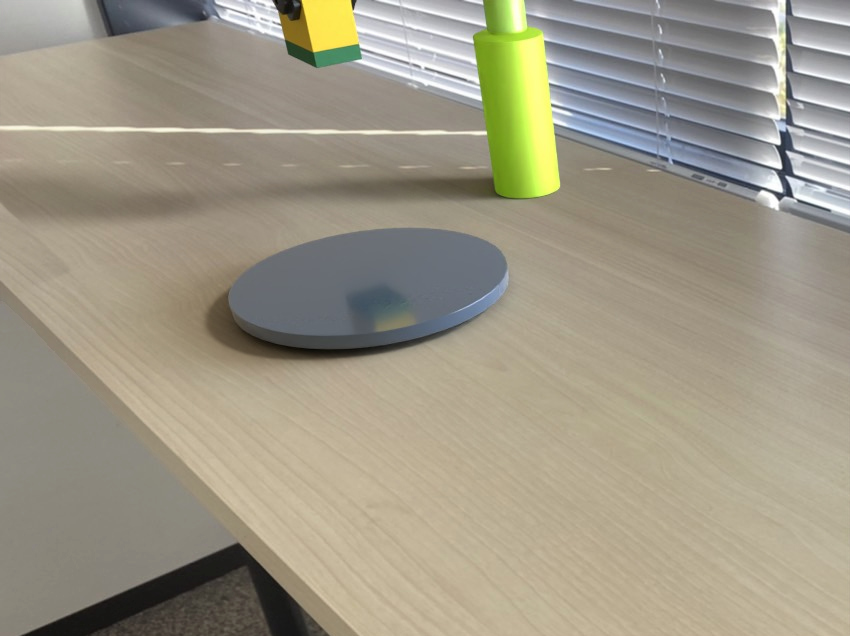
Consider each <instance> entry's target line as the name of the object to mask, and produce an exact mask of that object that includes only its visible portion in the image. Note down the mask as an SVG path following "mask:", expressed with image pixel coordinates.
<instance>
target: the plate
mask: <svg viewBox="0 0 850 636" xmlns="http://www.w3.org/2000/svg"><path fill="white" fill-rule="evenodd" d="M509 283H510V271H509V263H508V261H507V257H506V256H505V254H504V253H503V251H502V250H500V249H499V247H497V246H496V245H494V244H493V243H491V242H489V241H488V240H487V239H486V240H485V239H483V238H481V237H478V236H476V235H472V234H468V233H465V232H460V231H455V230H449V229H441V228H430V227H429V228H428V227H388V228H375V229H367V230H359V231H358V230H357V231H352V232H351V231H350V232H345V233H340V234H336V235H331V236H326V237H323V238H318V239H313V240H311V241H307V242H304V243H301V244H297V245H294V246H292V247H289V248H286V249H283V250H280V251H279V252H276V253H274V254H272V255H270V256H268V257H265V258H264V259H262V260H260V261H258V262H256V263H255V264H254V265H252V266H250V267H249V268H248V269H246V270H245V271H244V272H242V273H241V274H240V276H238V277H237V278H236V280H235V281H234V282H233V283H232V285H231V287H230V289H229V290H228V296H227V300H228V306H229V309H230V311H231V315H232V318H233V320H234V322H235V323H236V325H237V326H238V327H240V329H241V330H243V331H244V332H246V334H249V335H250V336H252V337H255V338H257V339H260V340H262V341H265V342H269V343H272V344H276V345H280V346H287V347H291V348H299V349H300V348H302V349H312V350H313V349H314V350H349V349H362V348H369V347H370V348H371V347H378V346H387V345H390V344H391V345H392V344H398V343H401V342H406V341H412V340H415V339H420V338H424V337H427V336H430V335H434V334H437V333H440V332H442V331H443V332H444V331H445V330H449V329H450V328H451V329H452V328H453V327H456V326H458V325H460V324H462V323H464V322H465V323H466V322H467V321H469V320H471V319H473V318H475V317H476V316H478V315H480V314H481V313H483V312H485V311H487V310H488V309H489V308H490V307H492V306H493V305H494V304H495V303H496V302H497V301H499V299H500V298H502V296H503V295H504V293H505V292H506V291H507V288H508V285H509Z"/></svg>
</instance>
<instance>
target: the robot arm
mask: <svg viewBox="0 0 850 636" xmlns="http://www.w3.org/2000/svg"><path fill="white" fill-rule="evenodd" d="M271 1H272V3H273V5H274V7H275V8H276V10H277V12H278V11H279V12H280V13H281V14H282V15H286V14H287V16H288V18H289V20H290V21H295V20H299V19H300V14H301V9H302V6H301V2H300V0H271ZM357 1H358V0H351V5H352V10H353V11H355V7H356V4H357Z"/></svg>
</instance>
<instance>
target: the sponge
mask: <svg viewBox="0 0 850 636" xmlns="http://www.w3.org/2000/svg"><path fill="white" fill-rule="evenodd" d="M300 2H301V6H302V9H301V14H300V19H299V20H295V21H290V20H289V18H288V16H287V14H286V15H282V14H281V13H280V12H279V11H278V10H277V14H278V17H279V22H280V26H281V30H282V35H283V39H284V43H285V47H286V51H287V55H288V56H290V57H293V58H295V59H297V60H299V61H301V62H303V63H305V64H307V65H310V66H312V67H314V68H316V69H320V68H325V67H329V66H335V65H340V64H345V63H351V62H355V61H360V60H362V59H363V56H362V51H361V46H360V41H359V40H360V39H359V35H358V30H357V26H356V25H357V24H356V21H355V16H354V10H352V5H351V0H300Z"/></svg>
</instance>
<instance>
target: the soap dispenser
mask: <svg viewBox="0 0 850 636" xmlns="http://www.w3.org/2000/svg"><path fill="white" fill-rule="evenodd" d="M482 3H483V4H482V5H483V12H484V19H485V26H486V28H485V29H482V30H480V31H478V32H475V33H474V34H473V35H472V42H473V48H474V55H475V62H476V69H477V74H478V83H479V89H480V90H479V91H480V95H481V102H482V109H483V117H484V123H485V130H486V137H487V144H488V149H489V151H488V152H489V157H490V164H491V165H490V166H491V171H492V177H493V184H494V185H493V186H494V191H495V192H496V194H498V196H501V197H505V198H509V199H535V198H540V197H544V196H549V195H551V194H552V193H555V192H556V191H558V190H559V189H560V188H561V180H560V171H559V165H558V164H559V163H558V154H557V145H556V144H557V143H556V136H555V128H554V127H555V126H554V118H553V109H552V101H551V93H550V92H551V91H550V83H549V73H548V65H547V57H546V49H545V39H544V32H543V30H542V29H540V28H537V27H533V26H528V23H527V21H528V20H527V14H526V6H525V0H482Z"/></svg>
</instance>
